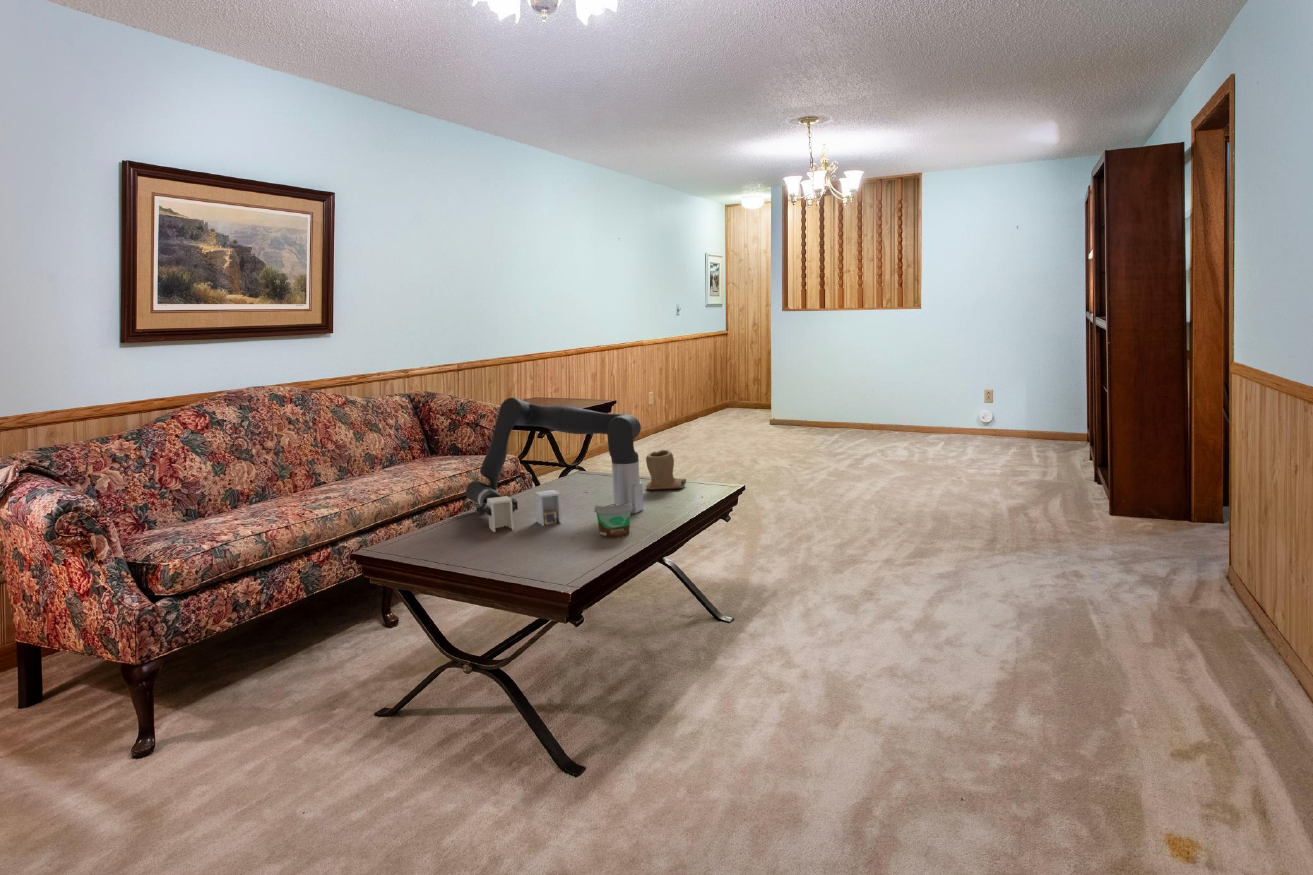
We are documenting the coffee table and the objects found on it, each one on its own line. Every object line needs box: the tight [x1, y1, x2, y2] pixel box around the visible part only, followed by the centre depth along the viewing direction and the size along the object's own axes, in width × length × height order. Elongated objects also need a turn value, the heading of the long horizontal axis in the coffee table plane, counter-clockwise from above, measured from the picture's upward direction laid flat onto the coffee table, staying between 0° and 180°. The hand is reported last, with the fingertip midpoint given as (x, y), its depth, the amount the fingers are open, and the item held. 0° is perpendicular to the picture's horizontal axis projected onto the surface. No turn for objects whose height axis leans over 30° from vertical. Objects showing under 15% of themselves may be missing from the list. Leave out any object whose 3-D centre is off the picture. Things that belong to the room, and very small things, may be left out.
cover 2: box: [534, 489, 563, 527], centre depth 281 cm, size 7×7×10 cm
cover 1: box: [487, 495, 515, 532], centre depth 275 cm, size 7×7×10 cm
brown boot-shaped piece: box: [645, 449, 687, 490], centre depth 324 cm, size 15×12×15 cm
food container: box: [594, 500, 632, 539], centre depth 260 cm, size 12×6×10 cm, turn 117°
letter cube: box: [543, 509, 557, 525], centre depth 281 cm, size 4×4×4 cm
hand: (501, 511), depth 272 cm, fingers closed on cover 1, 6 cm apart
